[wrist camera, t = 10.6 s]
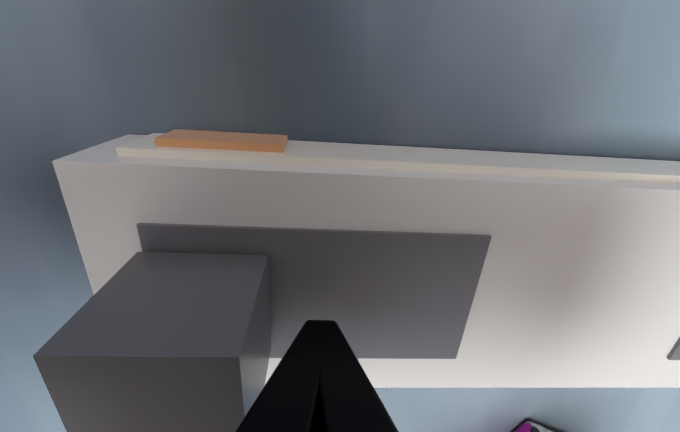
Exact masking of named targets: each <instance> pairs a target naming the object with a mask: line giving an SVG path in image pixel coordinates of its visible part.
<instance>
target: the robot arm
mask: <svg viewBox="0 0 680 432" xmlns="http://www.w3.org/2000/svg"><path fill="white" fill-rule="evenodd" d="M235 432H399V431H398V430H397V428H396V426H395V424H394V423H393V421H392V419H391V417H390V416H389V414H388V412H387V410H386V409H385V407H384V405H383V403H382V402H381V400H380V398H379V396H378V394H377V393H376V391H375V389H374V387H373V386H372V384H371V382H370V380H369V379H368V377H367V375H366V373H365V372H364V370H363V368H362V366H361V365H360V363H359V361H358V359H357V357H356V356H355V354H354V352H353V350H352V349H351V347H350V345H349V343H348V342H347V340H346V338H345V336H344V335H343V333H342V331H341V329H340V328H339V326H338V324H337V322H336V321H334V320H307V321H306V322H305V323H304V325H303V326H302V328H301V329H300V331H299V333H298V334H297V336H296V337H295V339H294V340H293V342H292V344H291V345H290V347H289V348H288V350H287V351H286V353H285V355H284V356H283V358H282V359H281V361H280V362H279V364H278V366H277V367H276V369H275V370H274V372H273V373H272V375H271V377H270V378H269V380H268V381H267V383H266V384H265V386H264V387H263V389H262V391H261V392H260V394H259V395H258V397H257V398H256V400H255V402H254V403H253V405H252V406H251V408H250V409H249V411H248V413H247V414H246V416H245V417H244V419H243V420H242V422H241V424H240V425H239V427H238V428H237V430H236V431H235Z"/></svg>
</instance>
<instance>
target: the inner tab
mask: <svg viewBox="0 0 680 432" xmlns="http://www.w3.org/2000/svg"><path fill="white" fill-rule="evenodd" d="M270 352H271V324H270V293H269V261H268V255H241V254H205V253H170V252H137V253H136V254H135V255H134V256H133V257H132V258H131V259H130V260H129V261H128V262H127V263H126V264H125V265H124V266H123V267H122V268H121V269H120V270H119V271H118V272H117V273H116V274H115V275H114V276H113V277H112V278H111V279H110V280H109V281H108V282H107V283H106V284H105V285H104V286H103V287H102V288H101V289H100V290H99V291H98V292H97V293H96V294H95V295H94V296H93V297H92V298H91V299H90V300H89V301H88V302H87V303H86V304H85V305H84V306H83V307H82V308H81V309H80V310H79V311H78V312H77V313H76V314H75V315H74V316H73V317H72V318H71V319H70V320H69V321H68V322H67V323H66V324H65V325H64V326H63V327H62V328H61V329H60V330H59V331H58V332H57V333H56V334H55V335H54V336H53V337H52V338H51V339H50V340H49V341H48V342H47V343H46V344H45V345H44V346H43V347H42V348H41V349H40V350H39V351H38V352H37V353H36V354H35V355H34V356H33V357H34V360H35V362H36V364H37V366H38V368H39V371H40V373H41V375H42V377H43V380H44V382H45V384H46V386H47V388H48V391H49V393H50V395H51V397H52V400H53V402H54V404H55V406H56V408H57V411H58V413H59V415H60V417H61V420H62V422H63V424H64V426H65V428H66V431H67V432H235V431H236V430H237V428H238V427H239V425H240V424H241V422H242V420H243V419H244V417H245V416H246V414H247V413H248V411H249V409H250V408H251V406H252V405H253V403H254V402H255V400H256V398H257V397H258V395H259V394H260V392H261V391H262V389H263V387H264V386H265V380H266V374H267V369H268V363H269V358H270Z"/></svg>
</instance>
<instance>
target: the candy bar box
mask: <svg viewBox="0 0 680 432" xmlns="http://www.w3.org/2000/svg"><path fill="white" fill-rule="evenodd" d="M514 432H559V431H556V430H553V429H551V428H548V427H546V426H543V425H540V424H537V423H534V422H531V421H527V422H525V423H523V424H521V425H520V426H519V427H518V428H517V429H516V430H515V431H514Z"/></svg>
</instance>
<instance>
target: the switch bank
mask: <svg viewBox="0 0 680 432" xmlns="http://www.w3.org/2000/svg"><path fill="white" fill-rule="evenodd" d="M52 162H53V166H54V169H55V172H56V175H57V178H58V182H59V185H60V188H61V191H62V195H63V198H64V201H65V204H66V207H67V211H68V214H69V217H70V220H71V224H72V227H73V230H74V233H75V236H76V240H77V243H78V246H79V249H80V253H81V256H82V259H83V262H84V266H85V269H86V272H87V275H88V278H89V282H90V285H91V288H92V291H93V295H95V294H96V293H97V292H98V291H99V290H100V289H101V288H102V287H103V286H104V285H105V284H106V283H107V282H108V281H109V280H110V279H111V278H112V277H113V276H114V275H115V274H116V273H117V272H118V271H119V270H120V269H121V268H122V267H123V266H124V265H125V264H126V263H127V262H128V261H129V260H130V259H131V258H132V257H133V256H134V255H135V254H136V253H137V252H170V253H205V254H241V255H268V261H269V293H270V324H271V352H270V358H269V363H268V369H267V374H266V380H265V384H266V383H267V381H268V380H269V378H270V377H271V375H272V373H273V372H274V370H275V369H276V367H277V366H278V364H279V362H280V361H281V359H282V358H283V356H284V355H285V353H286V351H287V350H288V348H289V347H290V345H291V344H292V342H293V340H294V339H295V337H296V336H297V334H298V333H299V331H300V329H301V328H302V326H303V325H304V323H305V322H306V321H307V320H334V321H336V322H337V324H338V326H339V328H340V329H341V331H342V333H343V335H344V336H345V338H346V340H347V342H348V343H349V345H350V347H351V349H352V350H353V352H354V354H355V356H356V357H357V359H358V361H359V363H360V365H361V366H362V368H363V370H364V372H365V373H366V375H367V377H368V379H369V380H370V382H371V384H372V386H373V387H374V388H664V387H680V161H665V160H646V159H628V158H609V157H590V156H572V155H553V154H535V153H516V152H498V151H479V150H461V149H442V148H424V147H405V146H387V145H368V144H349V143H331V142H312V141H294V140H288V135H276V134H257V133H239V132H221V131H203V130H185V129H174V130H172V131H169V132H167V133H165V134H164V133H152V134H149V135H135V134H128V135H125V136H122V137H119V138H116V139H113V140H110V141H107V142H105V143H102V144H99V145H96V146H93V147H90V148H87V149H84V150H81V151H79V152H76V153H73V154H70V155H67V156H64V157H61V158H58V159H55V160H53V161H52Z"/></svg>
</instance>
